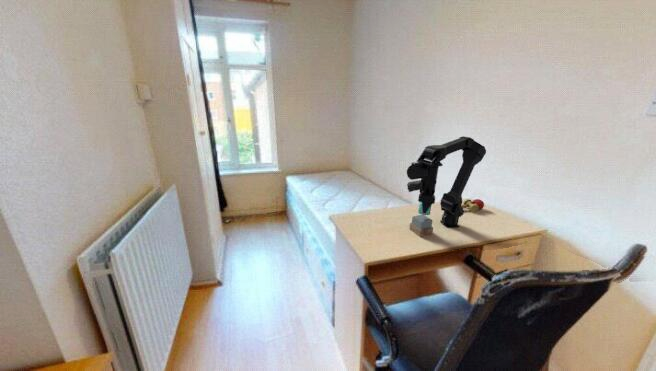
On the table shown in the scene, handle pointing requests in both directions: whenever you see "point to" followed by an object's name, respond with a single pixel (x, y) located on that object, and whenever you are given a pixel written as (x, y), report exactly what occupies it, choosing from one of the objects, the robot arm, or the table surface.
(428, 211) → the teal rounded dome
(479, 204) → the kendama
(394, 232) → the table surface
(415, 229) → the lower block
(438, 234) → the table surface
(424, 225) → the upper block
